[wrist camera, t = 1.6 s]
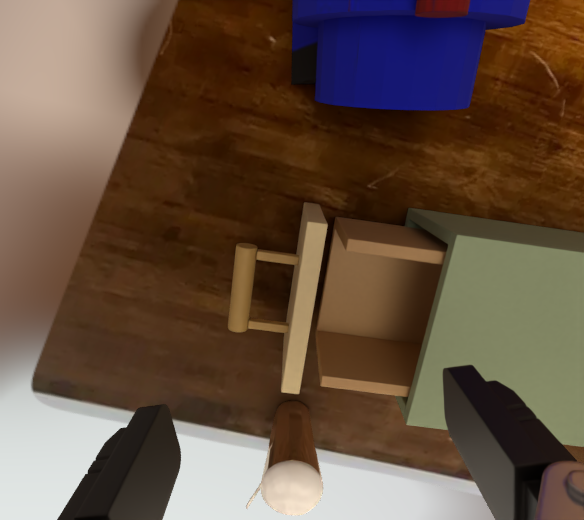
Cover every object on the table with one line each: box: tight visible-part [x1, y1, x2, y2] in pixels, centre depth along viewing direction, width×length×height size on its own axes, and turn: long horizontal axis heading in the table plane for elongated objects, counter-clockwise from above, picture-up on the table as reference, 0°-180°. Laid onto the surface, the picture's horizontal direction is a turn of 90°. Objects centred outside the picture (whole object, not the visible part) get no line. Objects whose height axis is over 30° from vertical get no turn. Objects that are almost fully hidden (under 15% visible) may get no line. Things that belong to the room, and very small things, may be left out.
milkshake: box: [246, 400, 323, 515], centre depth 31 cm, size 4×5×10 cm
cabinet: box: [395, 208, 584, 447], centre depth 28 cm, size 15×13×10 cm
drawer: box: [228, 202, 448, 397], centre depth 28 cm, size 18×11×8 cm, turn 82°
